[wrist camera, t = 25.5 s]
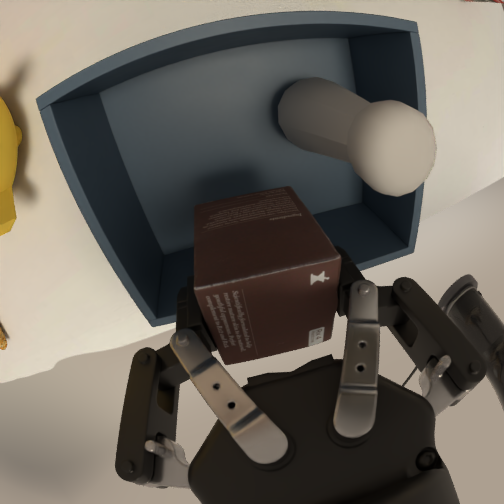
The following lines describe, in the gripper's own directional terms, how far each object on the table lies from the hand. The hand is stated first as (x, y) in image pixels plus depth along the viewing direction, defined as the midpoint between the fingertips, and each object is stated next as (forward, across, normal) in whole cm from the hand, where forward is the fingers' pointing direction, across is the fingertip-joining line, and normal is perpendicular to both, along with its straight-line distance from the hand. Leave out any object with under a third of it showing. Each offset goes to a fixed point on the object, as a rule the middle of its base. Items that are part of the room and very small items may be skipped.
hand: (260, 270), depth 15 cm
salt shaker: (+10, -7, -6) cm, 14 cm away
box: (+4, 0, 0) cm, 4 cm away
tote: (+11, -2, -4) cm, 12 cm away
